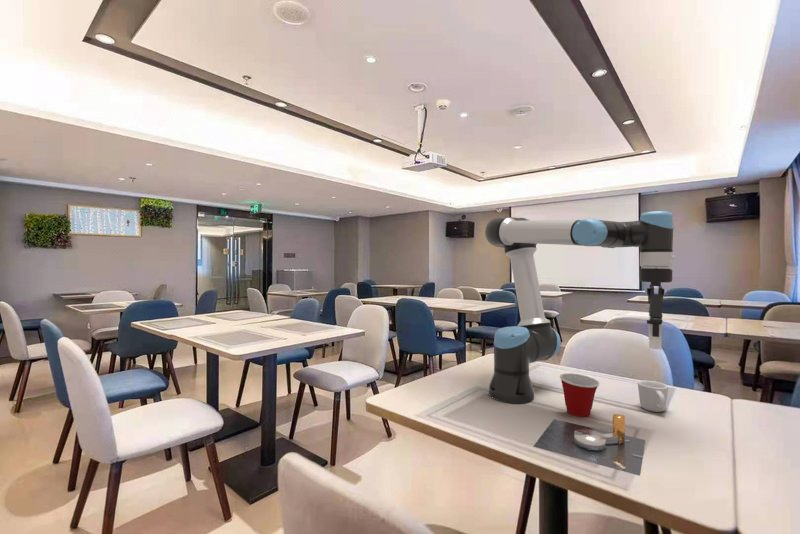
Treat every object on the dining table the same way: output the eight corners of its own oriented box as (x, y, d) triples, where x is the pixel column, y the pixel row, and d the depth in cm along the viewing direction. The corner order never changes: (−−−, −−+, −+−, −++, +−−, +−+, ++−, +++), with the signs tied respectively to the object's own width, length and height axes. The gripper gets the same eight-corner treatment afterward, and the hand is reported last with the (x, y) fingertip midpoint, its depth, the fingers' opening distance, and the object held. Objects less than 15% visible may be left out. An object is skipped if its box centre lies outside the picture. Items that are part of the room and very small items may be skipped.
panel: (533, 452, 93) (533, 445, 93) (553, 424, 109) (554, 418, 109) (639, 482, 80) (640, 474, 80) (645, 445, 96) (645, 439, 96)
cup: (677, 418, 113) (677, 391, 113) (647, 416, 115) (648, 390, 114) (660, 405, 124) (660, 381, 123) (633, 403, 125) (633, 379, 125)
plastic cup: (592, 429, 106) (592, 386, 105) (553, 418, 113) (553, 378, 113) (604, 418, 113) (605, 377, 113) (567, 408, 121) (567, 370, 121)
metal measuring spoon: (585, 451, 89) (586, 425, 89) (568, 438, 96) (568, 413, 96) (634, 447, 92) (634, 421, 92) (613, 434, 98) (613, 410, 98)
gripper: (675, 268, 93) (674, 355, 93) (669, 267, 114) (668, 338, 114) (639, 268, 97) (638, 351, 97) (640, 267, 118) (639, 335, 118)
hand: (654, 344), depth 106 cm, fingers open, 13 cm apart
